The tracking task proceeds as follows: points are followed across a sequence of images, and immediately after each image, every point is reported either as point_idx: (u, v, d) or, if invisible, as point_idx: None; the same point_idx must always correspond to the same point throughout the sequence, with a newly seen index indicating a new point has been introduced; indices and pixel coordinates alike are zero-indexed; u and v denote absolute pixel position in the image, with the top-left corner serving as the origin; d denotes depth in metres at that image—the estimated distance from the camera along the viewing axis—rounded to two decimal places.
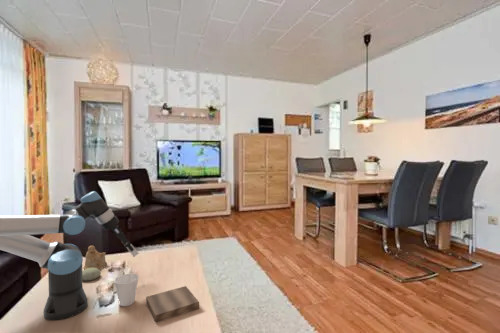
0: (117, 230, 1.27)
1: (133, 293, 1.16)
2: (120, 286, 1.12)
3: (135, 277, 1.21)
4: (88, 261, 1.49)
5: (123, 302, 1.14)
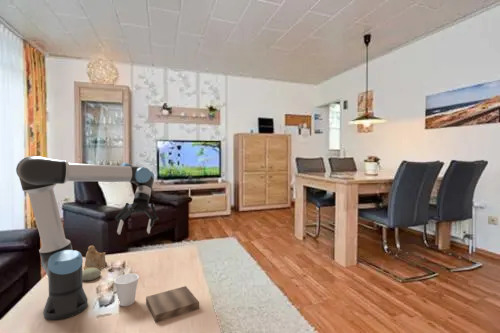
0: None
1: (133, 293, 1.16)
2: (120, 286, 1.12)
3: (135, 277, 1.21)
4: (88, 261, 1.49)
5: (123, 302, 1.14)
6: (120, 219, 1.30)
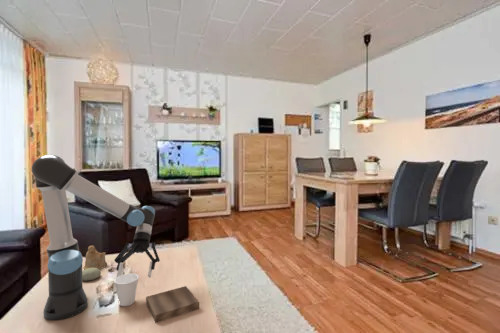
0: None
1: (133, 293, 1.16)
2: (120, 286, 1.12)
3: (135, 277, 1.21)
4: (88, 261, 1.49)
5: (123, 302, 1.14)
6: (120, 262, 1.25)
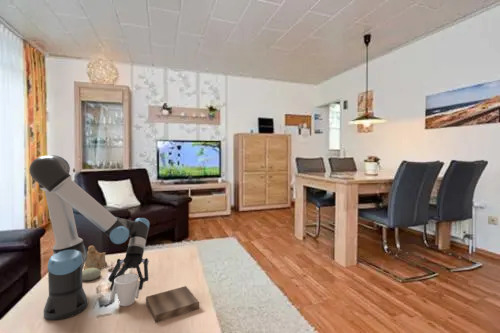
0: (148, 261, 1.26)
1: (133, 293, 1.16)
2: (120, 286, 1.12)
3: (135, 277, 1.21)
4: (88, 261, 1.49)
5: (123, 302, 1.14)
6: None
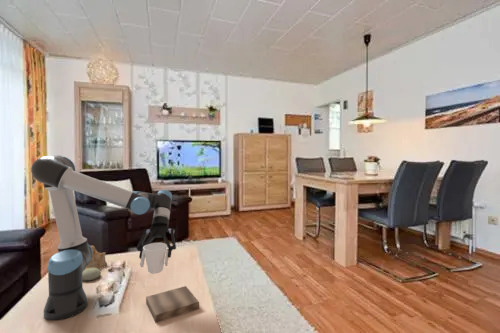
0: None
1: (162, 260, 1.15)
2: (150, 253, 1.12)
3: (163, 246, 1.20)
4: None
5: (153, 269, 1.13)
6: (143, 249, 1.17)
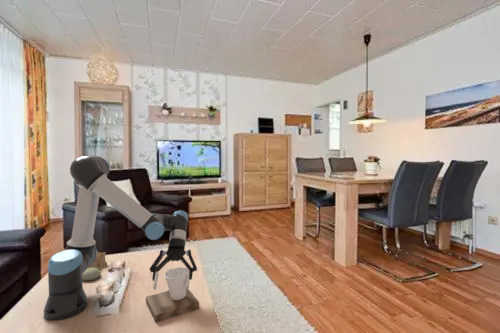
0: (190, 252, 1.24)
1: (184, 286, 1.15)
2: (172, 280, 1.11)
3: (183, 271, 1.20)
4: None
5: (176, 296, 1.13)
6: (155, 271, 1.16)
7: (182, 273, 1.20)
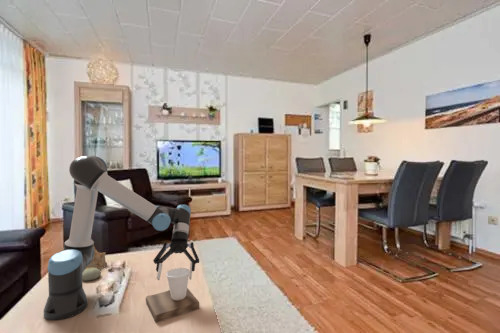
0: (193, 245, 1.27)
1: (185, 287, 1.15)
2: (174, 279, 1.12)
3: (185, 271, 1.20)
4: None
5: (177, 296, 1.13)
6: (159, 262, 1.19)
7: (183, 273, 1.20)
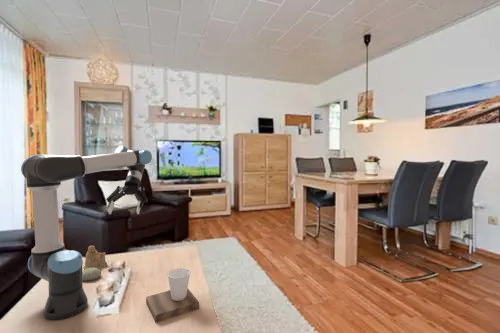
0: None
1: (186, 287, 1.15)
2: (175, 280, 1.11)
3: (185, 272, 1.20)
4: (88, 261, 1.49)
5: (177, 296, 1.13)
6: (111, 200, 1.37)
7: (184, 274, 1.20)
